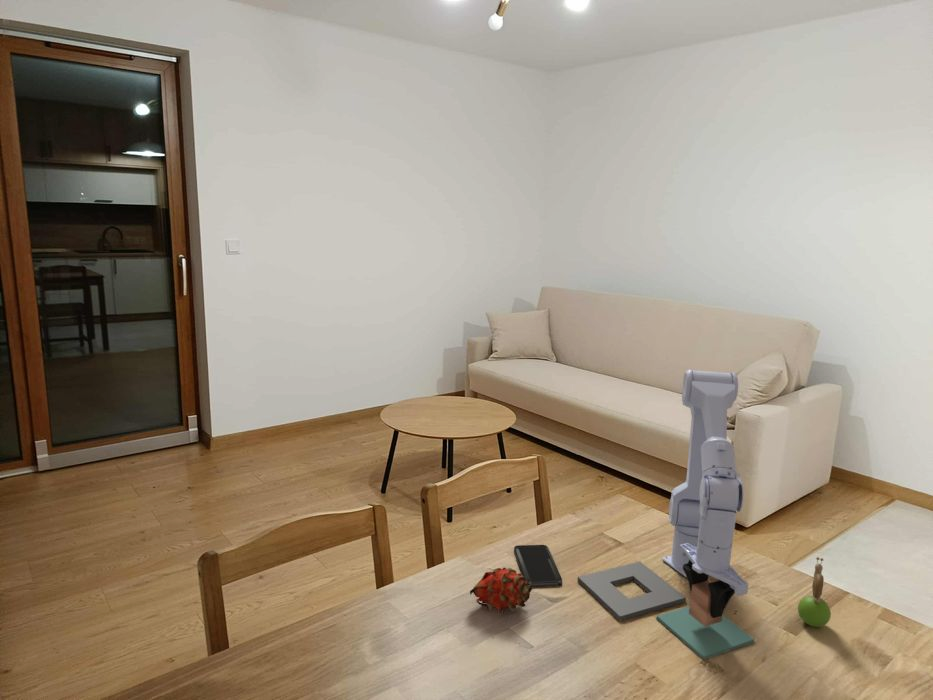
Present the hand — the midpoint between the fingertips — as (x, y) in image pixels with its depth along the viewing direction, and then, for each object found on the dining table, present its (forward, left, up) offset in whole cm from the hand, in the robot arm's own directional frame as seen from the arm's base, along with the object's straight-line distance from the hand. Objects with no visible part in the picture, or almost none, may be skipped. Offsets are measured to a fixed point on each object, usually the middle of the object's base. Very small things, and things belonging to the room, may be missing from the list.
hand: (706, 608), depth 115 cm
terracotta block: (0, 0, -2) cm, 2 cm away
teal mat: (0, 0, -4) cm, 4 cm away
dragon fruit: (+32, -20, -5) cm, 38 cm away
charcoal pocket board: (+5, -15, -4) cm, 16 cm away
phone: (+18, -30, -5) cm, 35 cm away
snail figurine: (-21, +6, -5) cm, 22 cm away
